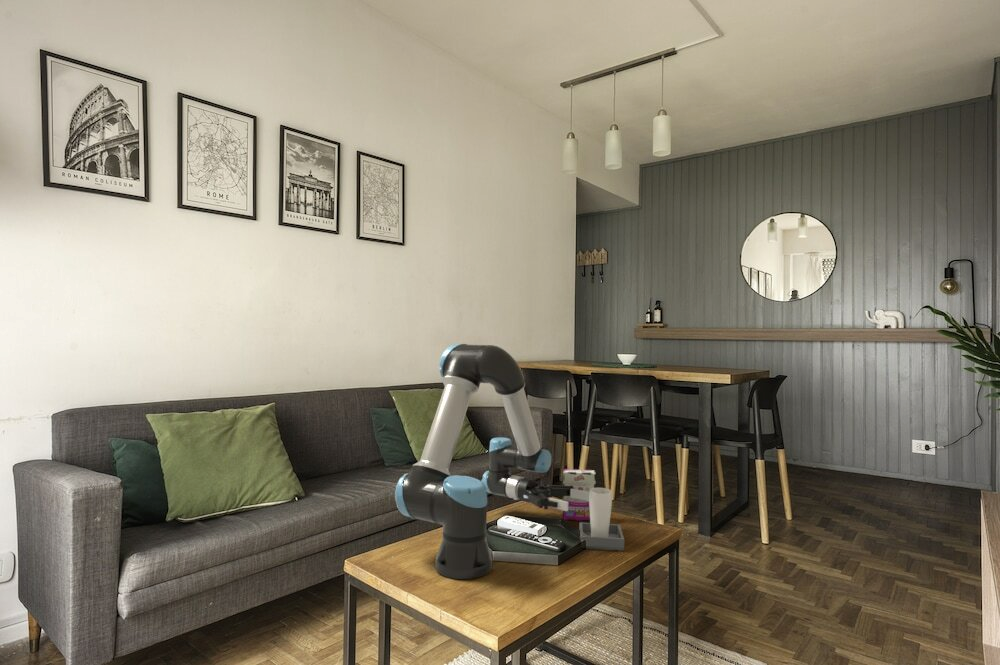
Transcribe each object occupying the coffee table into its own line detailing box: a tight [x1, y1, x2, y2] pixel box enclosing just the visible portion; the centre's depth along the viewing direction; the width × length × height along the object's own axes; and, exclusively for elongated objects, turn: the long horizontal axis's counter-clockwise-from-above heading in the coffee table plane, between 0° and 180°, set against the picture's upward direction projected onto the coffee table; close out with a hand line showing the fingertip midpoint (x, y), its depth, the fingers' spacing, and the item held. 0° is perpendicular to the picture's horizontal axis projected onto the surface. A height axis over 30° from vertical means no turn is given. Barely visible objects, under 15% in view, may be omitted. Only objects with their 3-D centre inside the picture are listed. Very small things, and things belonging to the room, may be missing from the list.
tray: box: [578, 521, 625, 552], centre depth 170 cm, size 13×13×4 cm
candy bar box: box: [562, 468, 597, 522], centre depth 192 cm, size 11×5×16 cm, turn 84°
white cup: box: [589, 487, 613, 537], centre depth 170 cm, size 7×7×15 cm
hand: (578, 501), depth 175 cm, fingers open, 13 cm apart
